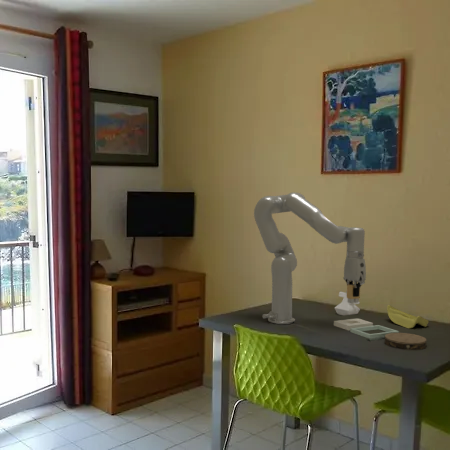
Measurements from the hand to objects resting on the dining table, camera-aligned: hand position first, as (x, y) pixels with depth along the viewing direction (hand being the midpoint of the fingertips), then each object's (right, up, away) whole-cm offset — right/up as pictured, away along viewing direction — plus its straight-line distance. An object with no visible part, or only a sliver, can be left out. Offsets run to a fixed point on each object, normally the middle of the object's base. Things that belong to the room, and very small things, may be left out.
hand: (353, 295), depth 238 cm
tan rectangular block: (0, -3, 0) cm, 3 cm away
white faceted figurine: (+4, -14, +30) cm, 33 cm away
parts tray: (+6, -16, -11) cm, 20 cm away
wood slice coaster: (+15, -17, -24) cm, 33 cm away
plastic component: (+28, -15, +12) cm, 34 cm away
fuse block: (0, -15, +1) cm, 15 cm away
